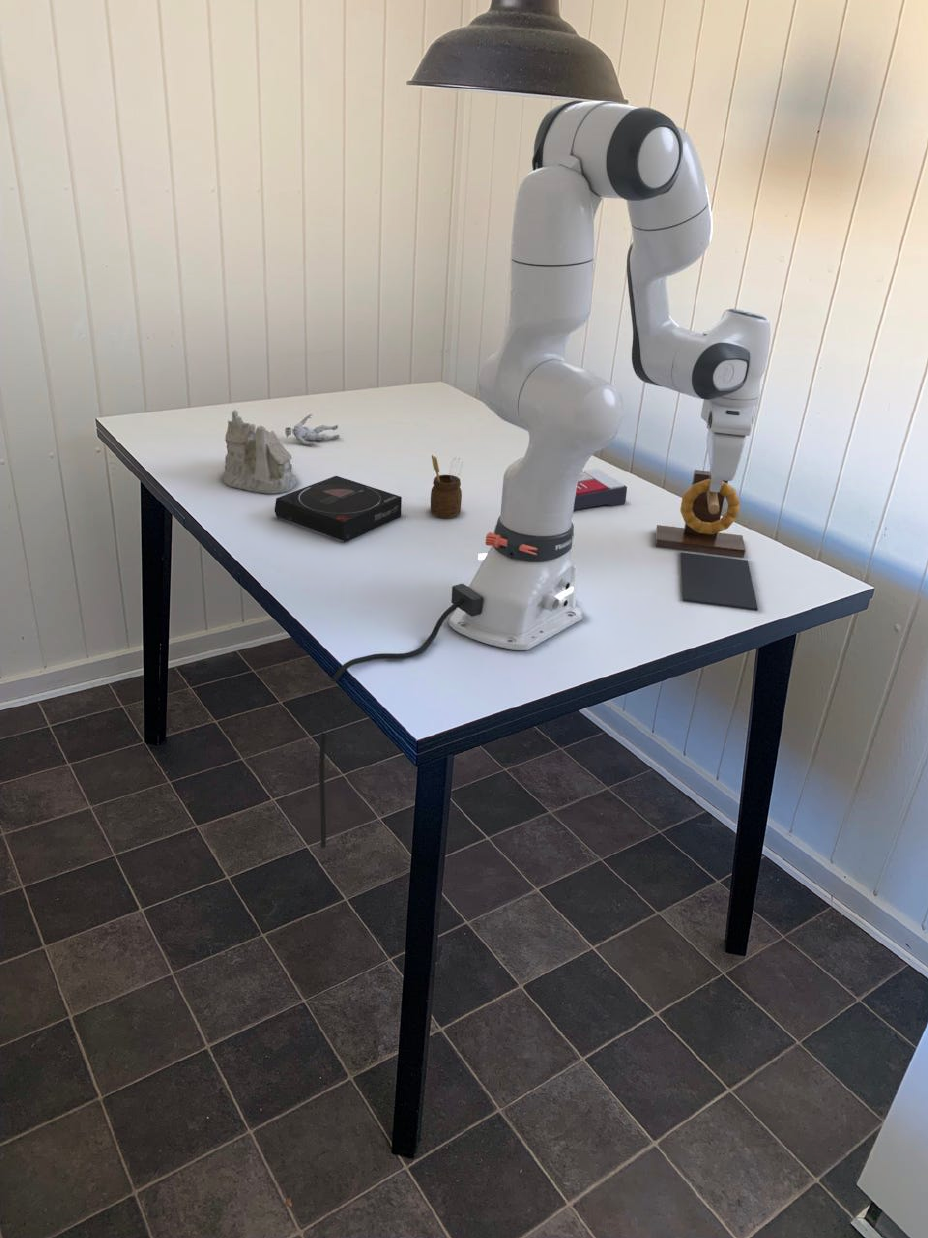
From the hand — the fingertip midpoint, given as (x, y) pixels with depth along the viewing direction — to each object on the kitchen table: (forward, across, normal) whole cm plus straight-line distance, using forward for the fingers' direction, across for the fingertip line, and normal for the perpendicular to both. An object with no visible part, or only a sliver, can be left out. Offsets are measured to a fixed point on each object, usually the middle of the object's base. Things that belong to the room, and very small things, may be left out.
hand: (713, 487), depth 167 cm
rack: (+14, -1, 0) cm, 14 cm away
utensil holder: (+14, -6, -48) cm, 51 cm away
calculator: (+14, -22, -23) cm, 35 cm away
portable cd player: (+14, +2, -67) cm, 69 cm away
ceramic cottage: (+14, -13, -88) cm, 89 cm away
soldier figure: (+14, -39, -86) cm, 95 cm away
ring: (+4, 0, 0) cm, 4 cm away
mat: (+14, +9, +2) cm, 16 cm away
